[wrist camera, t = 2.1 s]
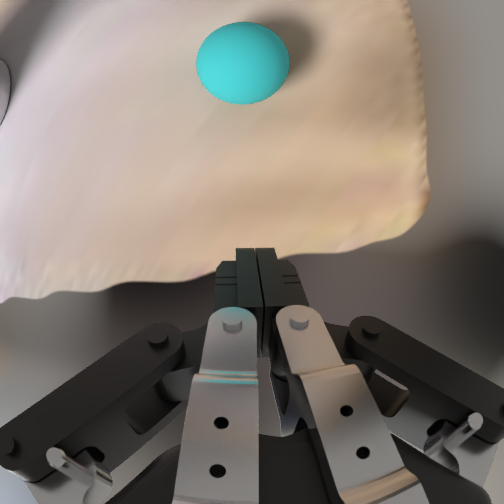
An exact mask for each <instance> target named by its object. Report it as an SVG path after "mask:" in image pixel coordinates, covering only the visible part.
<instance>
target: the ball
mask: <svg viewBox="0 0 504 504" xmlns="http://www.w3.org/2000/svg"><path fill="white" fill-rule="evenodd" d="M196 66H197V72H198V76H199V78H200V80H201V82H202V84H203V85H204V87H205V88H206V89H207V90H208V91H209V92H210V93H211V94H212V95H214V96H215V97H217V98H218V99H221V100H223V101H225V102H229V103H233V104H252V103H256V102H260V101H262V100H265V99H266V98H268V97H270V96H271V95H273V94H274V93H275V92H276V91H277V90H278V89H279V88H280V87H281V86H282V85H283V83H284V81H285V80H286V77H287V75H288V71H289V54H288V51H287V48H286V46H285V44H284V43H283V41H282V40H281V39H280V37H279V36H278V35H277V34H275V33H274V32H273V31H271V30H270V29H268V28H266V27H264V26H262V25H259V24H256V23H250V22H237V23H232V24H228V25H225V26H222V27H220V28H219V29H217V30H215V31H214V32H212V33H211V34H210V35H209V36H208V37H207V38H206V39H205V41H204V42H203V44H202V45H201V47H200V49H199V52H198V55H197V61H196Z"/></svg>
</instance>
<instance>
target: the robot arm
mask: <svg viewBox="0 0 504 504" xmlns="http://www.w3.org/2000/svg"><path fill="white" fill-rule="evenodd" d="M9 95H10V74H9V70H8V67H7V65H6V64H5V62H4V61H2V60H0V124H1V122H2V119H3V117H4V115H5V112H6V108H7V105H8V100H9ZM215 283H216V284H215V298H214V312H213V314H212V315H211V317H210V318H209V321H208V323H207V324H206V325H204V326H202V327H201V328H198V329H195V330H192V331H188V332H183V333H181V331H180V330H179V329H178V328H177V327H176V326H174V325H171V324H168V323H154V324H151V325H148V326H146V327H144V328H143V329H141V330H140V331H139V332H137V333H136V334H134V335H133V336H131V337H130V338H129V339H127V340H126V341H124V342H123V343H121V344H120V345H118V346H117V347H116V348H114V349H113V350H111V351H110V352H108V353H107V354H106V355H104V356H103V357H101V358H100V359H99V360H97V361H96V362H94V363H93V364H91V365H90V366H88V367H87V368H86V369H84V370H83V371H81V372H80V373H78V374H77V375H75V376H74V377H73V378H71V379H70V380H68V381H67V382H65V383H64V384H63V385H61V386H60V387H58V388H57V389H55V390H54V391H53V392H51V393H50V394H48V395H47V396H46V397H44V398H43V399H41V400H40V401H38V402H37V403H35V404H34V405H33V406H31V407H30V408H28V409H27V410H25V411H24V412H22V413H21V414H20V415H18V416H17V417H15V418H14V419H12V420H11V421H10V422H8V423H7V424H5V425H4V426H2V427H1V428H0V465H1V466H2V467H4V468H5V469H7V470H8V471H10V472H11V473H13V474H15V475H16V476H18V477H19V478H21V479H22V480H23V481H24V482H25V483H26V484H27V486H28V488H29V489H30V491H31V492H32V494H33V496H34V497H35V499H36V500H37V502H38V503H39V504H102V503H103V501H104V499H105V498H106V497H107V496H108V495H109V493H110V492H111V490H112V486H113V480H112V476H111V473H110V472H111V471H112V470H114V469H115V468H116V467H118V466H119V465H120V464H121V463H123V462H124V461H125V460H126V459H128V458H129V457H130V456H131V455H132V454H134V453H135V452H136V451H137V450H138V449H140V448H141V447H142V446H143V445H144V444H146V443H147V442H148V441H149V440H150V439H151V438H153V437H154V436H155V435H156V434H157V433H158V432H159V431H161V430H162V429H163V428H164V427H165V426H166V425H167V424H168V423H170V422H171V421H172V420H173V419H174V418H175V417H176V416H177V415H178V414H179V413H181V412H182V411H183V410H184V409H185V408H186V407H187V412H186V418H185V424H184V430H183V436H182V443H181V444H180V445H177V446H175V447H173V448H171V449H169V450H167V451H165V452H164V453H163V454H161V455H160V456H159V457H157V458H156V459H155V460H154V461H153V462H152V463H151V464H150V465H149V466H147V467H146V468H145V469H144V470H143V471H142V472H141V473H140V474H139V475H138V476H136V478H134V480H132V481H131V482H130V483H129V484H128V485H127V486H125V487H124V488H123V489H122V490H121V491H120V492H118V493H117V494H116V495H115V496H114V497H112V498H111V499H110V500H109V501H107V502H106V503H105V504H492V503H491V499H490V497H489V495H488V493H487V492H486V491H485V490H484V489H483V488H482V487H483V485H484V483H485V480H486V478H487V475H488V473H489V470H490V467H491V465H492V462H493V459H494V456H495V453H496V450H497V446H498V443H499V441H500V440H501V439H503V438H504V389H503V388H501V387H500V386H498V385H496V384H494V383H493V382H491V381H489V380H487V379H486V378H484V377H482V376H480V375H479V374H477V373H475V372H473V371H471V370H469V369H468V368H466V367H464V366H463V365H461V364H459V363H457V362H455V361H454V360H452V359H450V358H448V357H446V356H445V355H443V354H441V353H439V352H438V351H436V350H434V349H432V348H431V347H428V346H427V345H425V344H423V343H422V342H420V341H418V340H416V339H414V338H413V337H411V336H409V335H407V334H405V333H404V332H402V331H400V330H398V329H396V328H395V327H393V326H391V325H389V324H388V323H386V322H384V321H382V320H380V319H378V318H376V317H372V316H360V317H357V318H355V319H354V320H352V322H351V323H350V325H349V327H347V326H340V325H334V324H329V323H326V322H324V321H323V320H322V318H321V316H320V315H319V313H318V312H316V311H315V310H314V309H312V308H310V307H309V303H308V301H307V298H306V295H305V292H304V289H303V287H302V284H301V281H300V278H299V277H298V273H297V271H296V268H295V266H294V265H293V264H291V263H290V262H289V261H288V260H277V256H276V252H275V249H274V248H255V249H254V248H236V261H222V262H221V263H220V265H219V266H218V267H217V269H216V282H215ZM260 350H261V353H262V357H269V358H270V364H271V366H270V380H271V384H272V388H273V392H274V397H275V400H276V405H277V409H278V413H279V417H280V423H281V437H276V436H268V435H262V434H258V377H257V358H259V357H260ZM376 369H377V370H379V371H381V372H382V373H384V374H385V375H387V376H389V377H390V378H392V379H394V380H395V381H397V382H398V383H400V384H402V385H404V386H405V387H407V388H408V390H402V389H400V388H399V387H397V386H395V385H393V384H392V383H391V382H389V381H387V380H386V379H384V378H382V377H381V376H379V375H377V374H376V373H374V372H375V370H376ZM389 430H390V431H392V432H393V433H395V434H397V435H398V436H400V437H401V438H403V439H405V440H406V441H408V442H410V443H411V444H413V445H415V446H417V447H418V448H420V449H422V450H423V453H424V454H423V453H421V452H420V451H418V450H417V449H415V448H413V447H412V446H410V445H409V444H407V443H406V442H404V441H403V440H401V439H399V438H398V437H397V436H395V435H393V434H391V433H390V432H389Z"/></svg>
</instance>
